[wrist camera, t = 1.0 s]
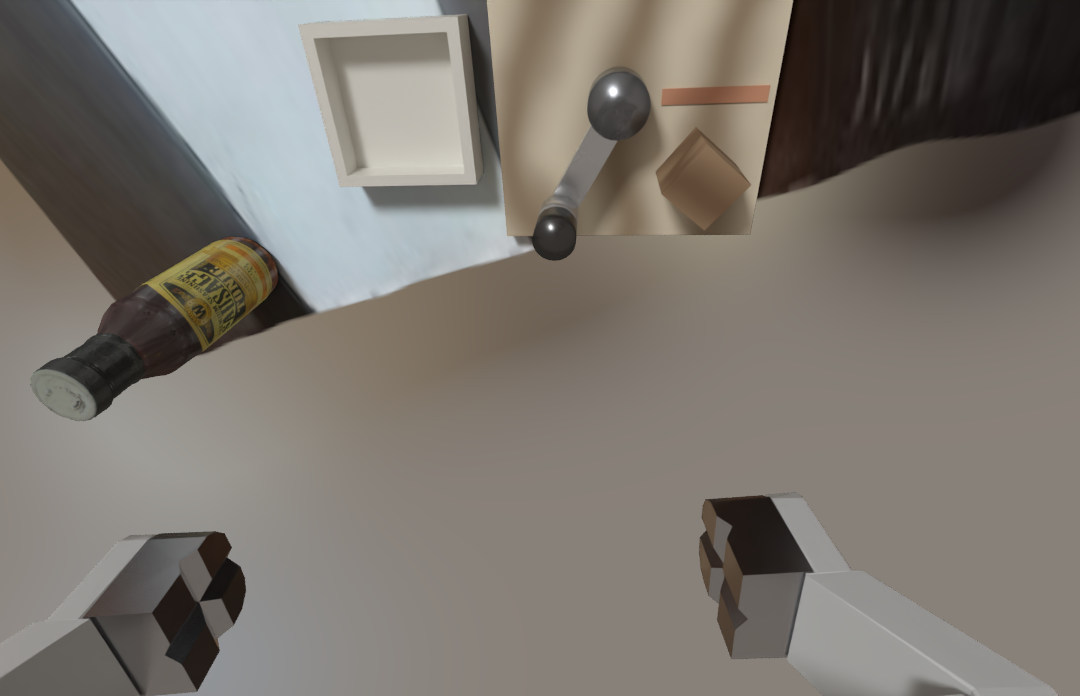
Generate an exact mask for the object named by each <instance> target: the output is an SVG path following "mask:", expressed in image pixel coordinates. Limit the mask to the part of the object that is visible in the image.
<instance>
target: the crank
mask: <svg viewBox="0 0 1080 696" xmlns="http://www.w3.org/2000/svg"><path fill="white" fill-rule="evenodd" d="M650 108H651V101H650V96H649V92H648V90H647V88H646V85H645V83H644V81H643V79H642V78H641V76H640V75H639V74H638V73H637V72H635V71H634V70H632V69H630V68H627V67H620V66H618V67H612V68H609V69H607V70H605V71H603V72H602V73H601V74H600V75H599V76H598V77H597V78H596V79H595V80H594V82H593V84H592V86H591V88H590V91H589V96H588V104H587V114H588V118H589V122H590V125H589V127H588V129H587V131H586V133H585V134H584V136H583V138H582V140H581V142H580V144H579V145H578V147H577V149H576V151H575V153H574V155H573V156H572V158H571V160H570V162H569V164H568V166H567V168H566V169H565V171H564V173H563V175H562V177H561V179H560V180H559V182H558V184H557V186H556V188H555V190H554V192H553V193H552V195H551V196H550V197H548V198H547V199H546V200H545V201H544V202H543V203H542V205H541V207H540V211H539V215H538V218H537V222H536V225H535V229H534V233H533V237H532V242H533V246H534V249H535V250H536V252H537V253H538V254H539V255H540V256H542V257H543V258H545V259H548V260H554V261H555V260H561V259H564V258H566V257H567V256H568V255H570V254H571V253H572V251H573V250H574V247H575V244H576V234H577V224H578V208H579V206H580V204H581V203H582V201H583V199H584V198H585V196H586V194H587V192H588V191H589V189H590V187H591V186H592V184H593V182H594V180H595V179H596V177H597V175H598V174H599V172H600V170H601V168H602V167H603V165H604V163H605V161H606V160H607V158H608V156H609V155H610V153H611V151H612V149H613V148H614V146H615V144H616V143H617V141H620V140H625V139H628V138H630V137H632V136H634V135H635V134H637V133H638V132H639V131H640V130H641V129H642V128H643V126H644V125H645V123H646V122H647V120H648V117H649V114H650Z"/></svg>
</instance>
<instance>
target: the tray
mask: <svg viewBox="0 0 1080 696" xmlns="http://www.w3.org/2000/svg"><path fill="white" fill-rule="evenodd" d="M298 26H299V30H300V34H301V38H302V42H303V45H304V49H305V53H306V57H307V61H308V65H309V69H310V72H311V76H312V80H313V84H314V88H315V92H316V96H317V100H318V103H319V107H320V111H321V115H322V119H323V123H324V127H325V131H326V134H327V138H328V142H329V146H330V150H331V154H332V158H333V161H334V165H335V169H336V173H337V177H338V181H339V185H340V187H361V186H418V185H475V184H477V183H478V181H479V180H480V178H481V177H482V175H483V173H484V168H483V159H482V149H481V140H480V130H479V121H478V111H477V102H476V92H475V83H474V73H473V64H472V54H471V45H470V35H469V26H468V16H467V14H460V15H441V16H422V17H403V18H384V19H364V20H345V21H326V22H314V23H307V24H300V25H298Z"/></svg>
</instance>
